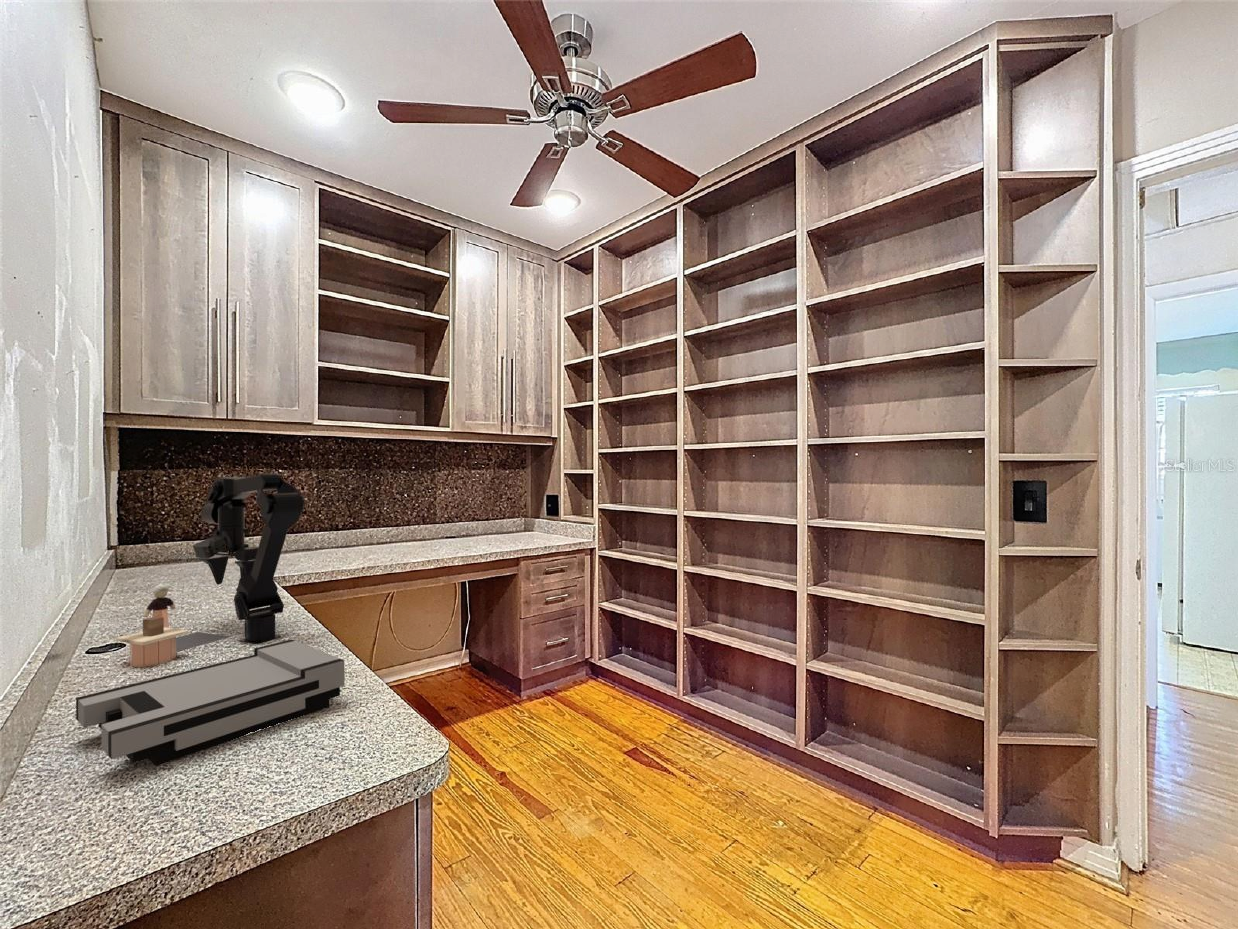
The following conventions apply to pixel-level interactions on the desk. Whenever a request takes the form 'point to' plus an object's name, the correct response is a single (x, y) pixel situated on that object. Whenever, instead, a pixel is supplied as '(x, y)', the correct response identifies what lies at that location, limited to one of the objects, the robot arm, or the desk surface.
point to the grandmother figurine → (160, 604)
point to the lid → (152, 632)
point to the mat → (196, 640)
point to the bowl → (152, 653)
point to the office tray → (212, 702)
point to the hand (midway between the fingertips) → (231, 585)
